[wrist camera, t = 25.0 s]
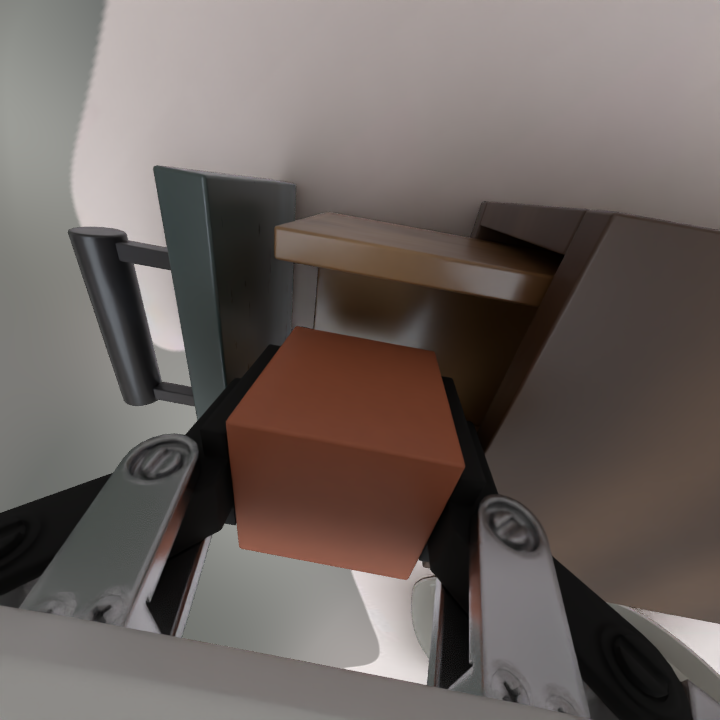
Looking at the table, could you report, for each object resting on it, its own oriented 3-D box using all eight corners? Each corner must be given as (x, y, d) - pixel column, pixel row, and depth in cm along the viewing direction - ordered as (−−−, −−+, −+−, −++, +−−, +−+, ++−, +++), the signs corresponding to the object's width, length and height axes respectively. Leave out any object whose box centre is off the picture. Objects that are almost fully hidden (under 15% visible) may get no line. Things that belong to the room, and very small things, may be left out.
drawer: (192, 380, 18) (94, 472, 12) (154, 158, 12) (-73, 124, 6) (485, 435, 18) (530, 555, 12) (588, 236, 12) (777, 277, 6)
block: (295, 324, 9) (223, 421, 5) (435, 350, 9) (467, 466, 5) (290, 428, 11) (237, 549, 7) (402, 449, 11) (408, 582, 7)
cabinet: (410, 419, 19) (422, 567, 12) (481, 200, 13) (615, 211, 5) (632, 460, 19) (791, 638, 11) (818, 261, 13) (1477, 367, 5)
